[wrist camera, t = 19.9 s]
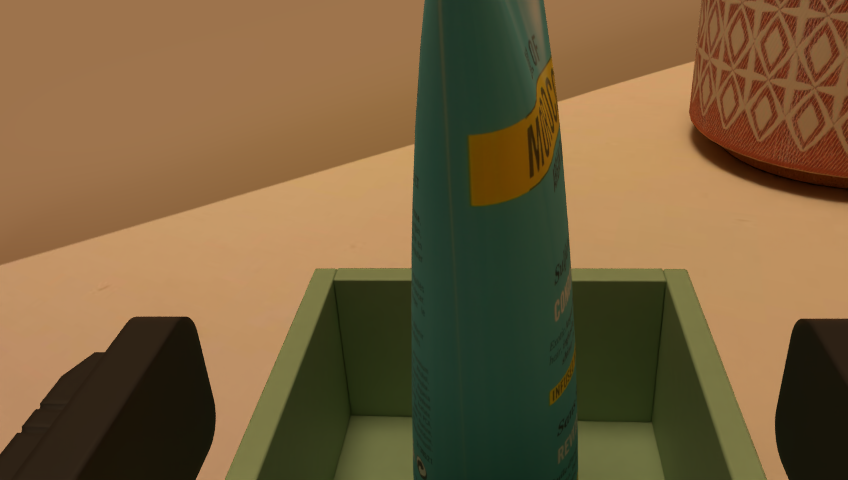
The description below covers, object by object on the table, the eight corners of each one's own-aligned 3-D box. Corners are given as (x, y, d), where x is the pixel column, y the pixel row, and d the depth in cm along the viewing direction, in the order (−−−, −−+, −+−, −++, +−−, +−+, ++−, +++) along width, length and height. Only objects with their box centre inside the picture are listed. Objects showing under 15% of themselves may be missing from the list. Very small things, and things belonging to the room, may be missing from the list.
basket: (237, 759, 19) (181, 577, 16) (336, 417, 30) (315, 267, 27) (764, 799, 18) (818, 608, 15) (668, 424, 29) (687, 268, 26)
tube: (584, 668, 20) (639, -169, 11) (399, 654, 21) (306, -149, 12) (571, 460, 27) (599, -176, 17) (431, 454, 27) (387, -163, 18)
